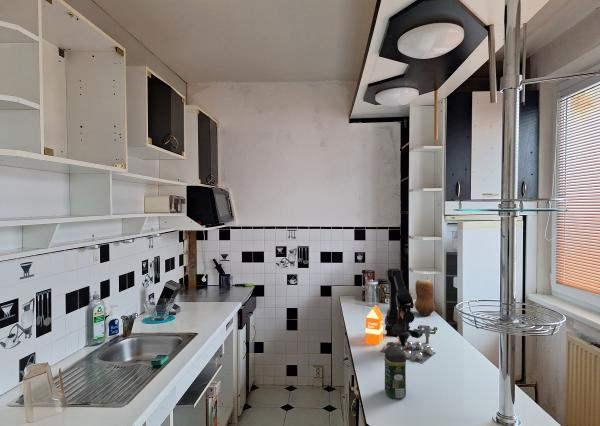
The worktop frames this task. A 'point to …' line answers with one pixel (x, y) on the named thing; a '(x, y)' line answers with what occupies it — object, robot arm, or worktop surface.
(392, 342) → the nut
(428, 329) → the mechanical component
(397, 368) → the coffee jar
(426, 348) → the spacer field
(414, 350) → the mat
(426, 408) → the worktop surface
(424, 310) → the butternut squash
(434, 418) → the worktop surface
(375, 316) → the orange juice
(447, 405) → the worktop surface
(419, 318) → the worktop surface
